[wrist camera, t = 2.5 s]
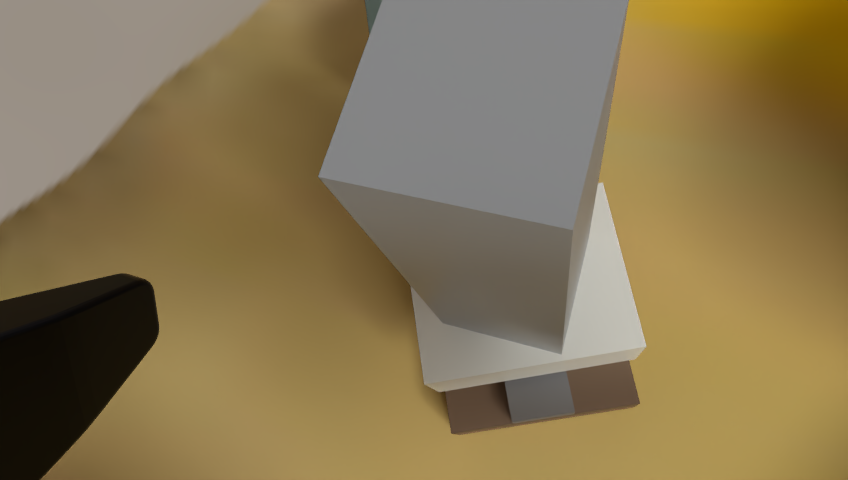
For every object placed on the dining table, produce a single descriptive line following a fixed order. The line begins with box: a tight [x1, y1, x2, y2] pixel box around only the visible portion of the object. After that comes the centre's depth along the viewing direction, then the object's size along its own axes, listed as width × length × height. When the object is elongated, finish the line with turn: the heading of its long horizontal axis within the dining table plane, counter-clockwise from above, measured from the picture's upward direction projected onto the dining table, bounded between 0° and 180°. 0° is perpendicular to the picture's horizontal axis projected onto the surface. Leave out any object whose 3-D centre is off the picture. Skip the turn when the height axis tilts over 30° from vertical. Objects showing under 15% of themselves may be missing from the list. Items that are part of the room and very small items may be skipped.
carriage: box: [318, 0, 646, 392], centre depth 12 cm, size 4×5×10 cm
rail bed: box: [365, 0, 640, 435], centre depth 17 cm, size 12×5×6 cm, turn 8°
